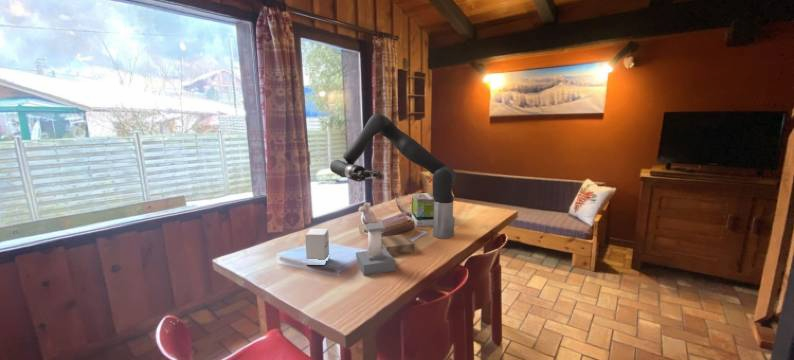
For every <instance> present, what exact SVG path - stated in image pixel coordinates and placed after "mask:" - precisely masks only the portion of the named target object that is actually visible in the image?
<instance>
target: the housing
mask: <svg viewBox="0 0 794 360" xmlns="http://www.w3.org/2000/svg"><path fill="white" fill-rule="evenodd" d="M364 227H365V229H366V230H367V245H368V247H367V251H368V252H365V255H366V256H367V258H368V259H369V261H370V260H377V259H383V258H385V255H384V254H383V253H382V251H381V237H382V231H385V230H386V228H385V226H384V225H383V224H382V223H381V222H377V223H365V224H364Z"/></svg>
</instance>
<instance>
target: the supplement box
mask: <svg viewBox="0 0 794 360" xmlns="http://www.w3.org/2000/svg"><path fill="white" fill-rule="evenodd" d="M305 251H306V252H305V254H306V258H307V259H318V260H325V259H326V258H327V257H328V255H329V256H330V239H329V228H310V229H309V230H308V232H306V233H305ZM306 258H305V259H306ZM307 259H306V260H307Z"/></svg>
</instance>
